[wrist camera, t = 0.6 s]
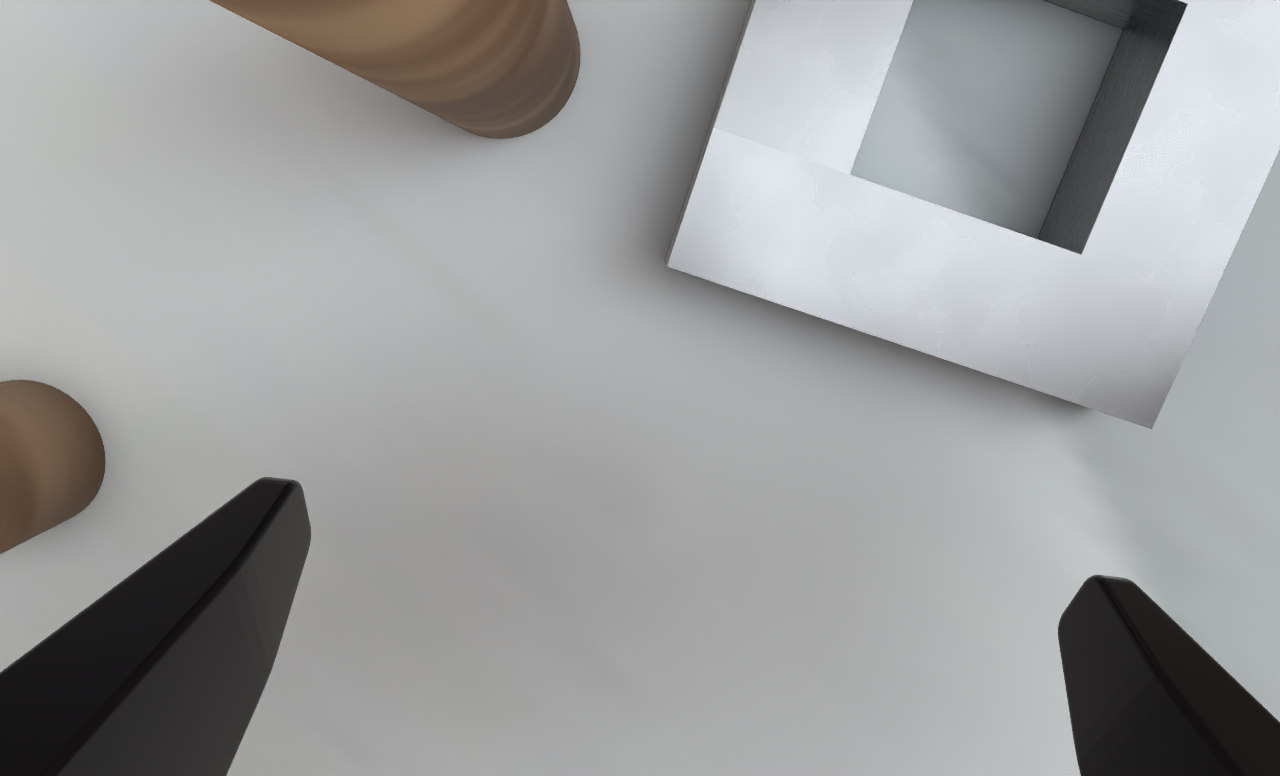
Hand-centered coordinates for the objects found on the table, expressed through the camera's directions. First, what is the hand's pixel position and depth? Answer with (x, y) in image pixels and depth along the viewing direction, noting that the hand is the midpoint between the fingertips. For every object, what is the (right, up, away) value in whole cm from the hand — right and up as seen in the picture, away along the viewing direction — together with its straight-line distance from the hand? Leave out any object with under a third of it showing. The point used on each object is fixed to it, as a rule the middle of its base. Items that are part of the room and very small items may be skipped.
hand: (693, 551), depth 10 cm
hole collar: (+8, +9, +11) cm, 16 cm away
